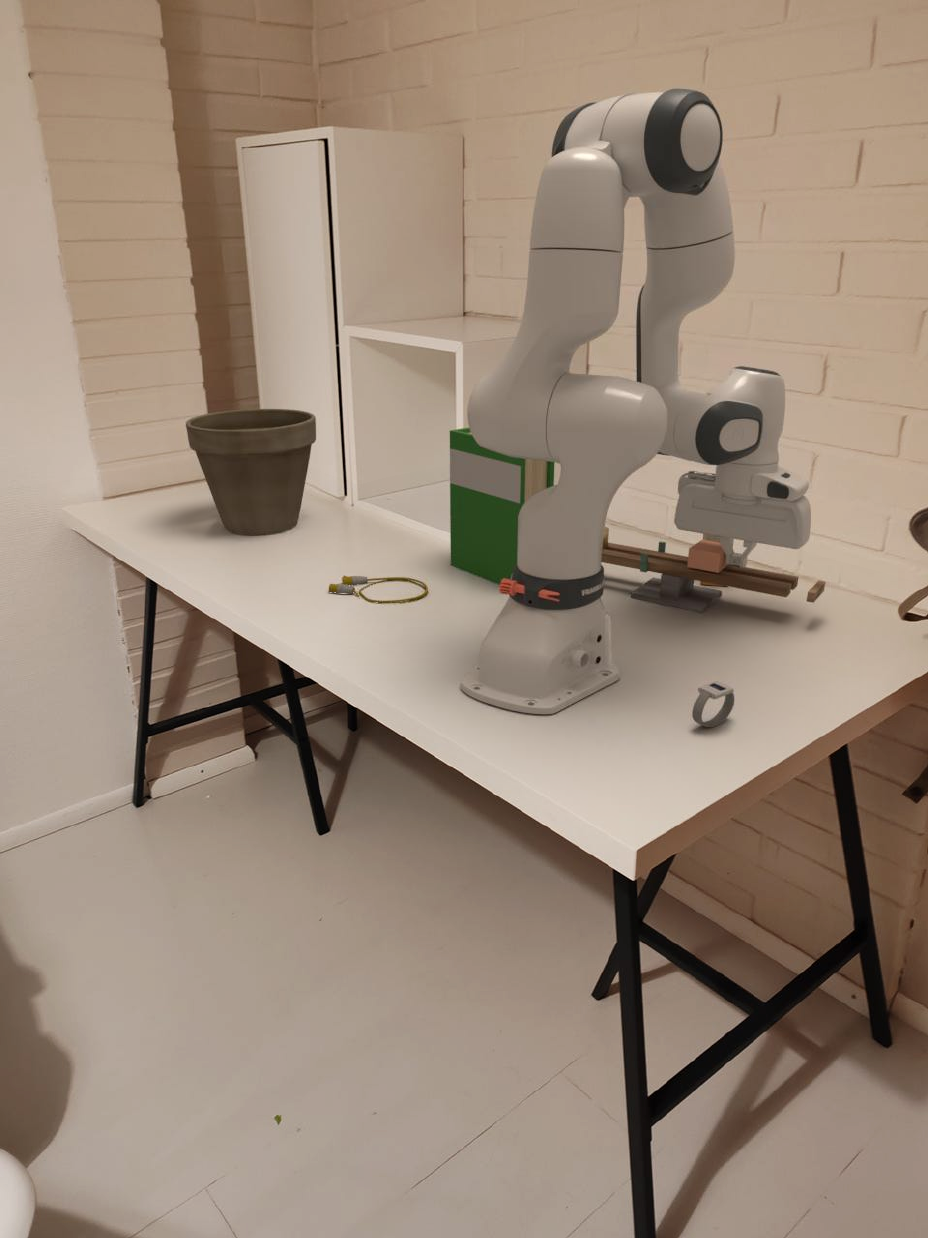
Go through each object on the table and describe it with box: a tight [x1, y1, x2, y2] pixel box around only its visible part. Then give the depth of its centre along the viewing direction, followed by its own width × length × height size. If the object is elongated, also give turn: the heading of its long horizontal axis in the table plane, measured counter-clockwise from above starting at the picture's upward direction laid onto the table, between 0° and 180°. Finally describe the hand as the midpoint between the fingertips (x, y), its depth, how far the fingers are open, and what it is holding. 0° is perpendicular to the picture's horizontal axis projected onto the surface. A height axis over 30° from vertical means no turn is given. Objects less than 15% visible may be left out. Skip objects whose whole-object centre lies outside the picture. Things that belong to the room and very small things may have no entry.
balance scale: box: [601, 526, 826, 613], centre depth 154 cm, size 9×44×9 cm, turn 57°
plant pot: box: [185, 408, 317, 536], centre depth 190 cm, size 25×25×22 cm
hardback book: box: [449, 427, 555, 586], centre depth 162 cm, size 18×7×24 cm, turn 40°
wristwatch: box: [691, 680, 735, 728], centre depth 115 cm, size 6×3×5 cm, turn 126°
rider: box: [687, 539, 732, 573], centre depth 151 cm, size 6×5×5 cm
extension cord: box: [328, 575, 429, 605], centre depth 159 cm, size 12×16×2 cm
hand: (735, 565), depth 149 cm, fingers closed
